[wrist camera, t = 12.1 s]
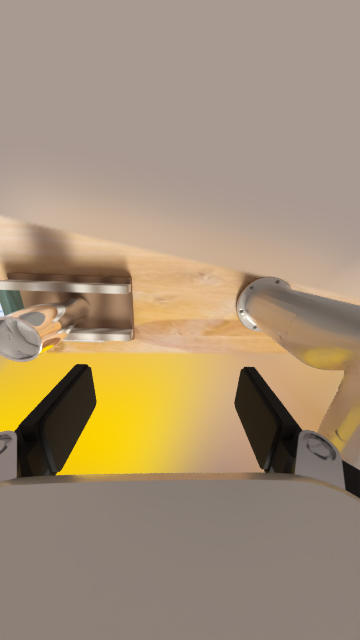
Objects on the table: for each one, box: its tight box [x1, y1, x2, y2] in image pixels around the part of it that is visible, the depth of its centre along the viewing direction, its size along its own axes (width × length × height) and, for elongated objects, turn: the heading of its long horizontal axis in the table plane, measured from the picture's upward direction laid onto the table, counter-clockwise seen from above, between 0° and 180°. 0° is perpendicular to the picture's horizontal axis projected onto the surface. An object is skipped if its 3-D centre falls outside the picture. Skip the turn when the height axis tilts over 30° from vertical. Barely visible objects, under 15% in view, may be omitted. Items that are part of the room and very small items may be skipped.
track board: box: [0, 273, 135, 341], centre depth 35 cm, size 24×14×4 cm, turn 87°
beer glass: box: [0, 295, 91, 362], centre depth 29 cm, size 7×7×15 cm
